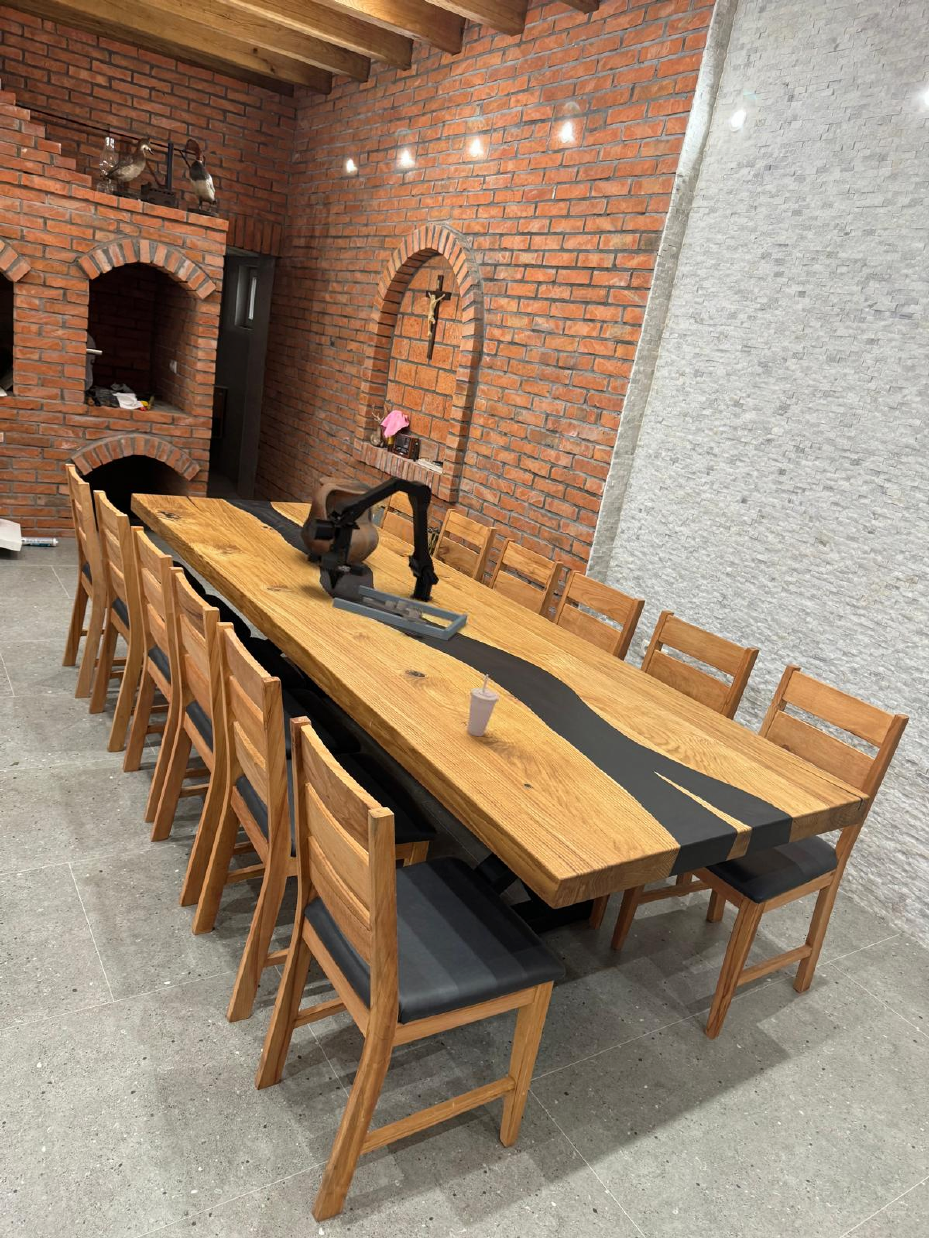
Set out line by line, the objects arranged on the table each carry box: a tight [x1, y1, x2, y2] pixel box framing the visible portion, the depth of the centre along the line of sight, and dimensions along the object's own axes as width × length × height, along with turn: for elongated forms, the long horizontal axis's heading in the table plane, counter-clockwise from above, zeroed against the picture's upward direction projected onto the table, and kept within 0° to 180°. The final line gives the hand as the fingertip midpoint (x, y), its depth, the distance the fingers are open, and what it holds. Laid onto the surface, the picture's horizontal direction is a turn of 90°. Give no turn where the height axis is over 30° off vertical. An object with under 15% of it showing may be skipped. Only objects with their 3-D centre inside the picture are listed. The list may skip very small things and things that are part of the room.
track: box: [332, 584, 469, 642], centre depth 254 cm, size 21×37×3 cm, turn 74°
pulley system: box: [362, 596, 427, 625], centre depth 248 cm, size 27×5×15 cm
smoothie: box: [467, 673, 500, 737], centre depth 183 cm, size 6×6×14 cm
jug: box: [300, 476, 380, 569], centre depth 290 cm, size 32×28×30 cm
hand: (333, 589), depth 258 cm, fingers closed
